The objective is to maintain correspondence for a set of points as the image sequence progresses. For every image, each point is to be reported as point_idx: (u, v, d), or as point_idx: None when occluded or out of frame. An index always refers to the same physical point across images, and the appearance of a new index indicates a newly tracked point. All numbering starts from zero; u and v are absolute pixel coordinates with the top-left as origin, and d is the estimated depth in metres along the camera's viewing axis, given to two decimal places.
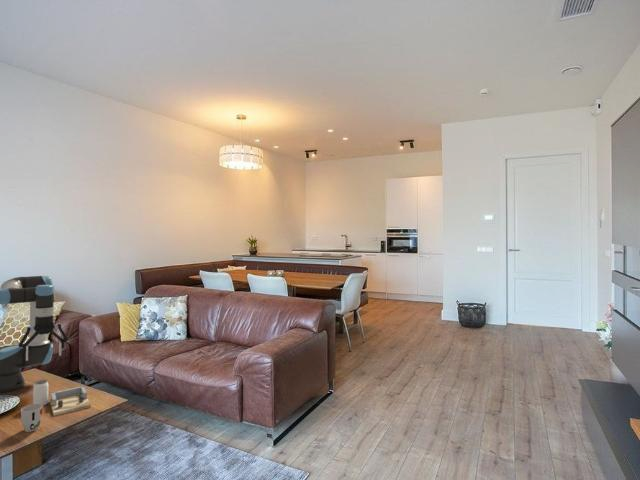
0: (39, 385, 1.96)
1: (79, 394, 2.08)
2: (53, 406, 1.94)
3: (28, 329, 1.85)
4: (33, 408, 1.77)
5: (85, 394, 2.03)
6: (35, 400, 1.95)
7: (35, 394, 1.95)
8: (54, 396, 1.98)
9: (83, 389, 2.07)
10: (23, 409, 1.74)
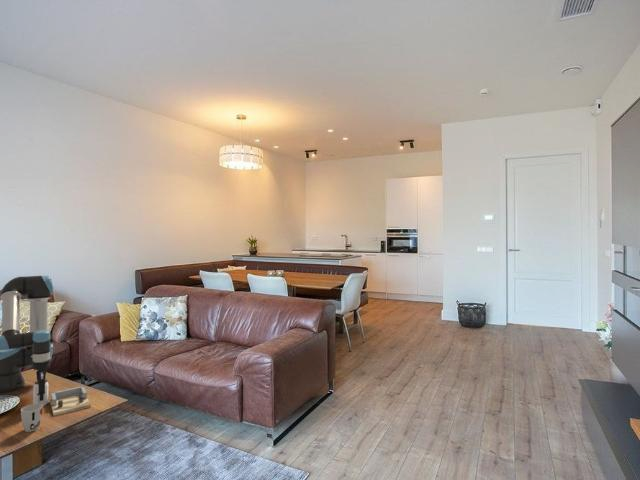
0: None
1: (79, 394, 2.08)
2: (53, 406, 1.94)
3: (37, 370, 2.02)
4: (33, 408, 1.77)
5: (85, 394, 2.03)
6: (35, 400, 1.95)
7: (35, 394, 1.95)
8: (54, 396, 1.98)
9: (83, 389, 2.07)
10: (23, 409, 1.74)
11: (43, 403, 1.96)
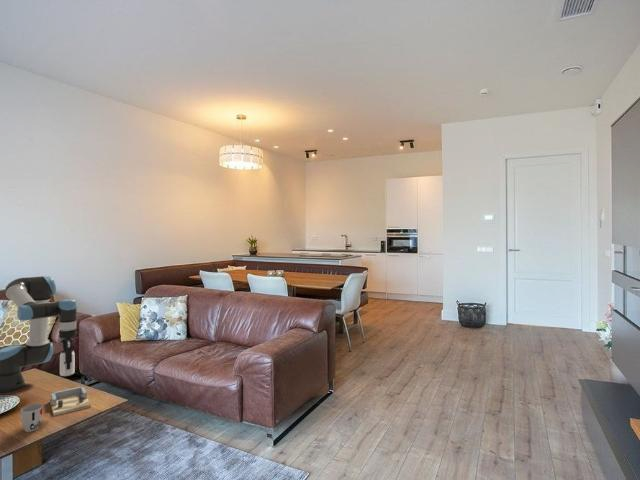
0: None
1: (79, 394, 2.08)
2: (53, 406, 1.94)
3: None
4: (33, 408, 1.77)
5: (85, 394, 2.03)
6: (62, 369, 1.93)
7: (62, 363, 1.93)
8: (54, 396, 1.98)
9: (83, 389, 2.07)
10: (23, 409, 1.74)
11: (70, 372, 1.94)
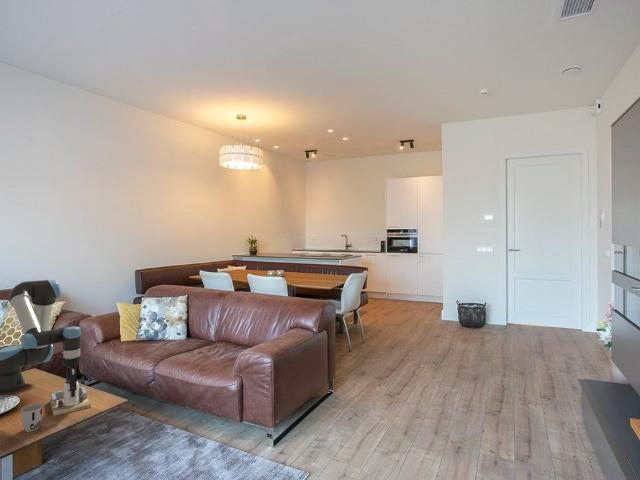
0: None
1: (79, 394, 2.08)
2: (53, 406, 1.94)
3: (67, 366, 2.00)
4: (33, 408, 1.77)
5: (85, 394, 2.03)
6: (66, 400, 1.93)
7: (66, 393, 1.93)
8: (54, 396, 1.98)
9: (83, 389, 2.07)
10: (23, 409, 1.74)
11: (74, 399, 1.93)
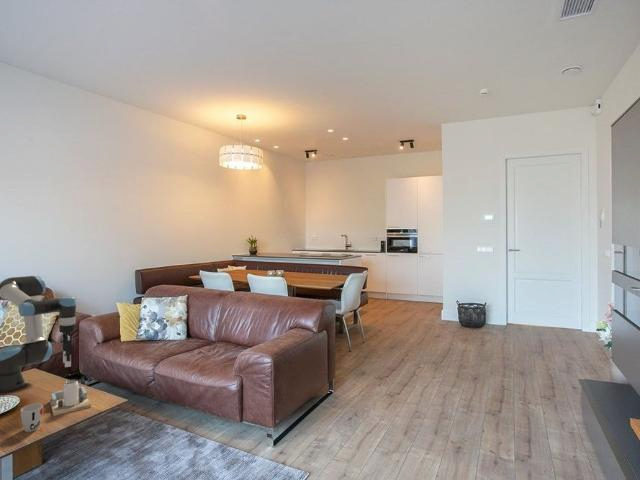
0: (70, 384, 1.94)
1: (79, 394, 2.08)
2: (53, 406, 1.94)
3: (63, 334, 2.15)
4: (33, 408, 1.77)
5: (85, 394, 2.03)
6: (65, 400, 1.93)
7: (66, 393, 1.93)
8: (54, 396, 1.98)
9: (83, 389, 2.07)
10: (23, 409, 1.74)
11: (70, 364, 2.08)
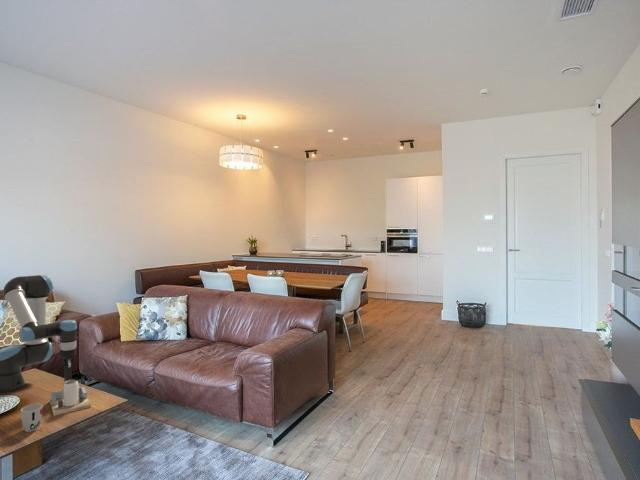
0: (70, 384, 1.94)
1: (79, 394, 2.08)
2: (53, 406, 1.94)
3: None
4: (33, 408, 1.77)
5: (85, 394, 2.03)
6: (65, 400, 1.93)
7: (66, 393, 1.93)
8: (54, 396, 1.98)
9: (83, 389, 2.07)
10: (23, 409, 1.74)
11: None
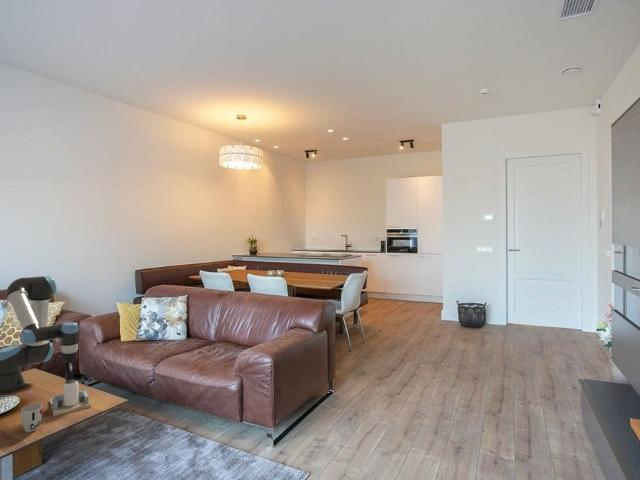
0: (70, 384, 1.94)
1: None
2: None
3: None
4: (33, 408, 1.77)
5: (87, 398, 1.98)
6: (65, 400, 1.93)
7: (66, 393, 1.93)
8: (55, 400, 1.93)
9: (85, 393, 2.03)
10: (23, 409, 1.74)
11: None
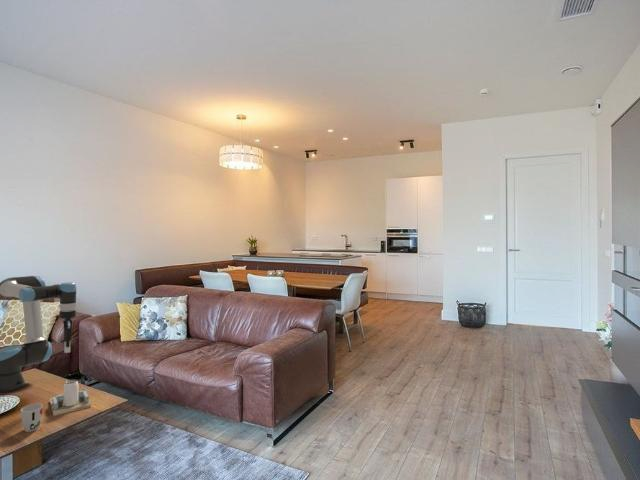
0: (70, 384, 1.94)
1: None
2: None
3: None
4: (33, 408, 1.77)
5: (87, 398, 1.98)
6: (65, 400, 1.93)
7: (66, 393, 1.93)
8: (55, 400, 1.93)
9: (85, 393, 2.03)
10: (23, 409, 1.74)
11: (69, 350, 2.10)
